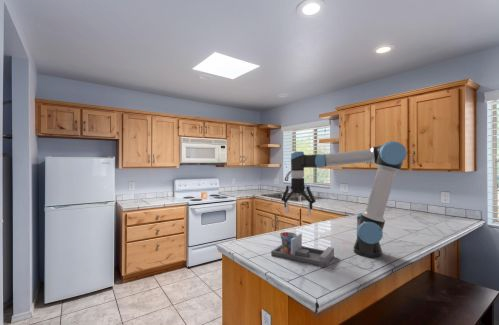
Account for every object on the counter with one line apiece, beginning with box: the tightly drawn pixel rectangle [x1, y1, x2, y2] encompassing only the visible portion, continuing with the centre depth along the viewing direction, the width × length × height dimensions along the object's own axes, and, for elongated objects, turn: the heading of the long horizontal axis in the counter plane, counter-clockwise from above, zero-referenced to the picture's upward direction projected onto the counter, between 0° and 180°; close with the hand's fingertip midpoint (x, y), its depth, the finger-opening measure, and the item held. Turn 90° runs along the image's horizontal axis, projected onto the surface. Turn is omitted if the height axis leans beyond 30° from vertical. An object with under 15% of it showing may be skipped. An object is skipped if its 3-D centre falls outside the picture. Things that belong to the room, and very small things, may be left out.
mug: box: [279, 231, 297, 254], centre depth 146 cm, size 12×9×11 cm
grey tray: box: [270, 243, 335, 269], centre depth 142 cm, size 30×17×5 cm, turn 58°
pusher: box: [291, 232, 309, 258], centre depth 142 cm, size 7×14×10 cm, turn 148°
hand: (298, 213), depth 150 cm, fingers open, 13 cm apart
